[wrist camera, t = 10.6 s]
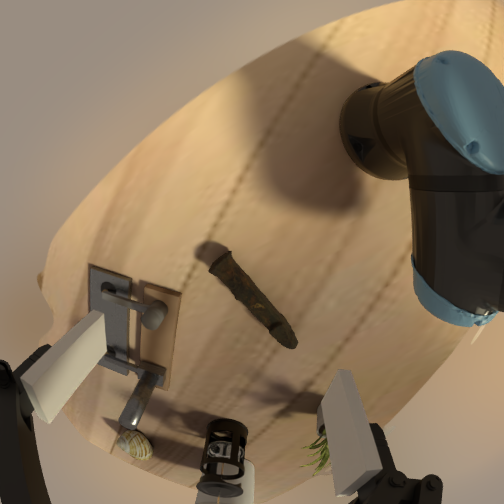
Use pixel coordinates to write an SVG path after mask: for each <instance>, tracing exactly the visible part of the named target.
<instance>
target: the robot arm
mask: <svg viewBox="0 0 504 504" xmlns="http://www.w3.org/2000/svg"><path fill="white" fill-rule="evenodd" d="M340 133H341V138H342V141H343V144H344V146H345V149H346V151H347V152H348V154H349V156H350V157H351V158H352V160H353V161H354V162H355V163H356V164H357V165H358V166H359V167H360V168H361V169H362V170H363V171H365V172H366V173H368V174H370V175H371V176H374V177H376V178H379V179H384V180H403V179H407V178H408V179H409V190H410V202H411V217H412V254H411V263H412V267H413V285H414V290H415V293H416V295H417V296H418V299H419V301H420V303H421V304H422V305H423V306H424V308H425V309H427V310H428V311H429V312H430V313H431V314H433V315H434V316H436V317H437V318H439V319H441V320H443V321H445V322H448V323H450V324H454V325H457V326H463V327H472V326H473V324H476V325H477V326H481V325H485V324H487V323H489V322H490V321H491V320H492V319H493V318H494V317H495V315H496V314H497V313H498V312H499V311H501V312H504V86H503V85H502V83H501V82H500V80H499V79H497V78H496V77H495V75H494V74H493V73H492V71H491V70H490V69H489V68H488V67H486V66H485V65H484V64H483V63H482V62H480V61H479V60H477V59H476V58H474V57H472V56H471V55H468V54H466V53H463V52H460V51H453V50H449V51H443V52H440V53H438V54H436V55H433V56H431V57H426V58H425V59H422V60H420V61H419V62H418V63H417V65H415V66H414V67H412V68H411V69H409V70H407V71H406V72H404V73H403V74H401V75H400V76H398V77H397V78H396V79H394V80H393V81H391V82H390V83H384V82H379V83H371V84H367V85H365V86H363V87H361V88H359V89H358V90H356V91H355V92H354V93H353V94H352V95H351V96H350V97H349V98H348V99H347V100H346V102H345V104H344V106H343V108H342V111H341V115H340ZM106 352H107V346H106V335H105V321H104V313H101V312H99V311H96V310H94V309H93V310H92V311H91V312H90V313H89V314H87V315H86V316H85V317H84V318H83V319H82V320H81V321H80V322H78V323H77V324H76V325H75V326H74V327H73V328H72V329H71V330H69V331H68V332H67V333H66V334H65V335H64V336H63V337H62V338H61V339H60V340H59V341H57V342H56V343H55V344H54V345H53V346H50V345H49V344H46V345H44V346H41V347H39V348H38V349H37V350H36V351H35V352H34V353H33V354H32V355H30V356H29V358H27V359H26V360H25V361H24V362H23V363H22V364H21V365H20V366H19V367H18V368H17V369H16V370H15V371H14V372H12V370H11V368H10V365H9V364H8V362H6V361H4V360H0V498H1V502H2V504H51V501H50V498H49V495H48V492H47V488H46V485H45V481H44V477H43V473H42V469H41V465H40V460H39V455H38V450H37V445H36V438H35V432H34V424H33V417H32V414H31V413H32V412H33V411H34V410H35V412H36V414H37V415H38V417H39V418H40V419H42V420H43V421H45V422H47V423H48V424H50V423H51V422H52V420H53V419H54V418H55V416H56V415H57V414H58V412H59V411H60V410H61V408H62V407H63V406H64V405H65V403H66V402H67V401H68V399H69V398H70V397H71V395H72V394H73V393H74V392H75V390H76V389H77V388H78V386H79V385H80V384H81V383H82V381H83V380H84V379H85V378H86V376H87V375H88V374H89V373H90V371H91V370H92V369H93V368H94V366H95V365H96V364H97V363H98V361H99V360H100V359H101V358H102V356H103V355H104V354H105V353H106ZM321 406H322V412H323V418H324V423H325V429H326V435H327V441H328V447H329V453H330V460H331V466H332V473H333V480H334V487H335V493H336V497H340V496H350V495H352V494H353V493H355V492H356V491H357V492H358V497H356V498H355V499H354V500H352V501H351V502H350V503H349V504H441V501H442V490H443V483H442V481H441V479H440V478H439V477H438V476H436V475H433V474H430V475H427V476H425V477H424V478H423V479H422V480H418V479H409V478H407V477H406V476H405V474H403V473H402V472H400V471H397V470H396V468H395V465H394V462H393V459H392V456H391V453H390V449H389V447H388V444H387V441H386V440H385V439H386V438H385V435H384V432H383V430H382V429H381V428H380V426H379V425H378V424H377V423H369V422H368V419H367V416H366V413H365V410H364V407H363V404H362V401H361V398H360V395H359V392H358V389H357V386H356V384H355V381H354V378H353V375H352V372H351V370H342V369H338V371H337V373H336V375H335V377H334V379H333V381H332V383H331V385H330V386H329V388H328V390H327V392H326V394H325V396H324V397H323V399H322V401H321Z"/></svg>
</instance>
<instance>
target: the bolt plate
mask: <svg viewBox="0 0 504 504" xmlns="http://www.w3.org/2000/svg"><path fill="white" fill-rule="evenodd" d="M131 285H132V278H129V277H125V276H122V275H119V274H116V273H113V272H110V271H107V270H104V269H101V268H98V267H95V266H93V267H92V268H90V310H91V311H92V310H93V309H94V310H96V311H99V312H101V313H104V321H105V335H106V346H107V352H108V353H109V354H110V355H111V356H114V357H116V358H119V359H121V360H124V361H127V362H129V320H130V308H127V307H124V306H121V305H119V304H116V303H113V302H110V301H107V300H105V299H102V291H103V290H104V289H106V290H108V292H110V293H113V294H116V295H119V296H122V297H125V298H128V299H131ZM97 364H99V365H101V366H104V367H106V368H108V369H111V370H113V371H116V372H118V373H121V374H123V375H126V376H127V375H128V374H129V370H128V369H125V368H123V367H120V366H118V365H115V364H113V363H110V362H108V361H105V360H104V355H103V356H102V358H101V359H100V360H99V361H98V363H97Z"/></svg>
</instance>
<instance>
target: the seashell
mask: <svg viewBox="0 0 504 504" xmlns="http://www.w3.org/2000/svg"><path fill="white" fill-rule="evenodd" d="M117 445H118V446H119V447H120V448H121V449H122V450H123V451H125V452H127V453H128V454H129V455H131V456H132V457H133V458H135V459H137V460H148V459H150V458H151V457H152V455H153V449H154V448H153V447H152V446H151V445H150V443H149V441H148V440H147V438H146V437H145V436H144V435H143V434H142V433H139V432H138V431H133V430H128V431H126V432H124V433H123V434H122V435H121V437H119V438H118V440H117Z"/></svg>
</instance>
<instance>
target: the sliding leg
mask: <svg viewBox="0 0 504 504" xmlns="http://www.w3.org/2000/svg"><path fill="white" fill-rule="evenodd" d="M104 360H105V361H108V362H110V363H113V364H115V365H118V366H120V367H123V368H125V369H128V370H131V371H133V372H136V373H138V379H140V380H139V382H138V384H137V386H136V387H135V389H134V391H133V393H132V395H131V397H130V399H129V400H128V402H127V404H126V406H125V408H124V410H123V412H122V414H121V416H120V418H119V423H120V424H121V425H122V426H123V427H125V428H127V429H130V430H135V429H136V428H137V425H138V423H139V421H140V419H141V416H142V414H143V412H144V410H145V407H146V405H147V403H148V401H149V399H150V397H151V394H152V392H153V390H154V388H155V386H156V385H158V386H161V387H163V385H164V383H165V380H166V372H167V369H165V368H162V367H159V366H156V365H153V364H150V363H147V362H144V361H141V363H140V365H139V366H137V365H135V364H132V363H129V362H127V361H124V360H121V359H119V358H116V357H114V356H111V355H110V354H109V353H108V352H106V353H105V354H104Z"/></svg>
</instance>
